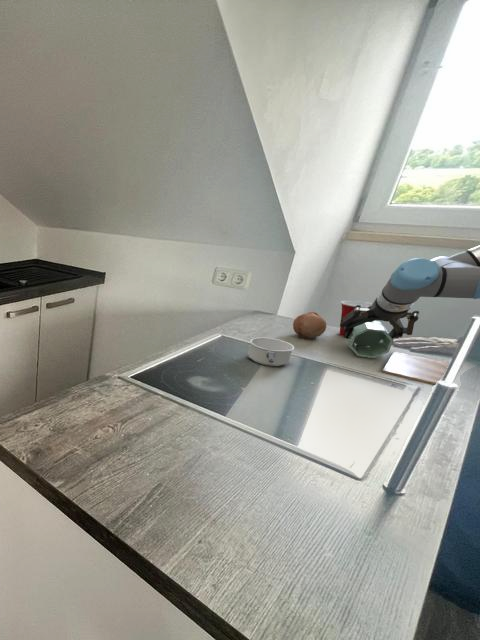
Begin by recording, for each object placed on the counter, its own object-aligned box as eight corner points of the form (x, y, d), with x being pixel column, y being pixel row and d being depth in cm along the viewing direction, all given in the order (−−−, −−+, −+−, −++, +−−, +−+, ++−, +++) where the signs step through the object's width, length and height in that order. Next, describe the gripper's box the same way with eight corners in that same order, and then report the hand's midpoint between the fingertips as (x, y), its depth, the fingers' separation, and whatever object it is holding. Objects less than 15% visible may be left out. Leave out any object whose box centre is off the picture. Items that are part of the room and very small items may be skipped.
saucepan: (243, 373, 113) (247, 356, 111) (246, 350, 128) (250, 335, 126) (290, 382, 107) (296, 364, 105) (288, 357, 123) (293, 341, 120)
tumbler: (385, 360, 118) (397, 331, 115) (346, 354, 123) (356, 326, 120) (380, 349, 126) (390, 322, 122) (343, 344, 131) (352, 318, 127)
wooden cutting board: (441, 386, 104) (442, 384, 103) (381, 371, 112) (382, 370, 112) (448, 364, 115) (449, 362, 115) (393, 353, 124) (394, 351, 123)
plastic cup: (366, 333, 140) (378, 301, 135) (372, 342, 132) (385, 308, 127) (328, 328, 146) (339, 297, 141) (332, 337, 137) (343, 304, 133)
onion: (301, 341, 143) (309, 315, 142) (328, 343, 134) (337, 315, 133) (282, 334, 140) (291, 307, 140) (309, 336, 131) (318, 307, 131)
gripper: (340, 307, 112) (321, 341, 130) (449, 319, 100) (411, 354, 119) (345, 285, 114) (325, 322, 132) (452, 294, 102) (414, 333, 120)
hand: (366, 337), depth 125 cm, fingers closed on tumbler, 9 cm apart
